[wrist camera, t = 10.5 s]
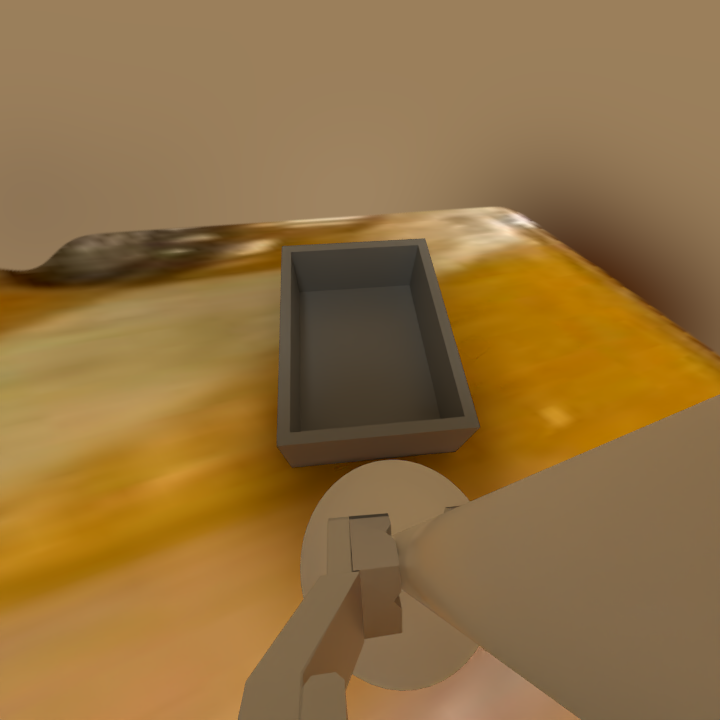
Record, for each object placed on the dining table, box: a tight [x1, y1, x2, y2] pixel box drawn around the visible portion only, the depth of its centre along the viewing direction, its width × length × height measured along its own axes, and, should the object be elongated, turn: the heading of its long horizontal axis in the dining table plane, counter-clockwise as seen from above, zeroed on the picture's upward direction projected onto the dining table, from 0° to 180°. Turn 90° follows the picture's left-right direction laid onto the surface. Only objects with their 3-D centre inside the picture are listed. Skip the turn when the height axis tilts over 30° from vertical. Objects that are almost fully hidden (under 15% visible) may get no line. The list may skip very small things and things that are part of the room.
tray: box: [277, 239, 480, 468], centre depth 28 cm, size 13×18×6 cm
